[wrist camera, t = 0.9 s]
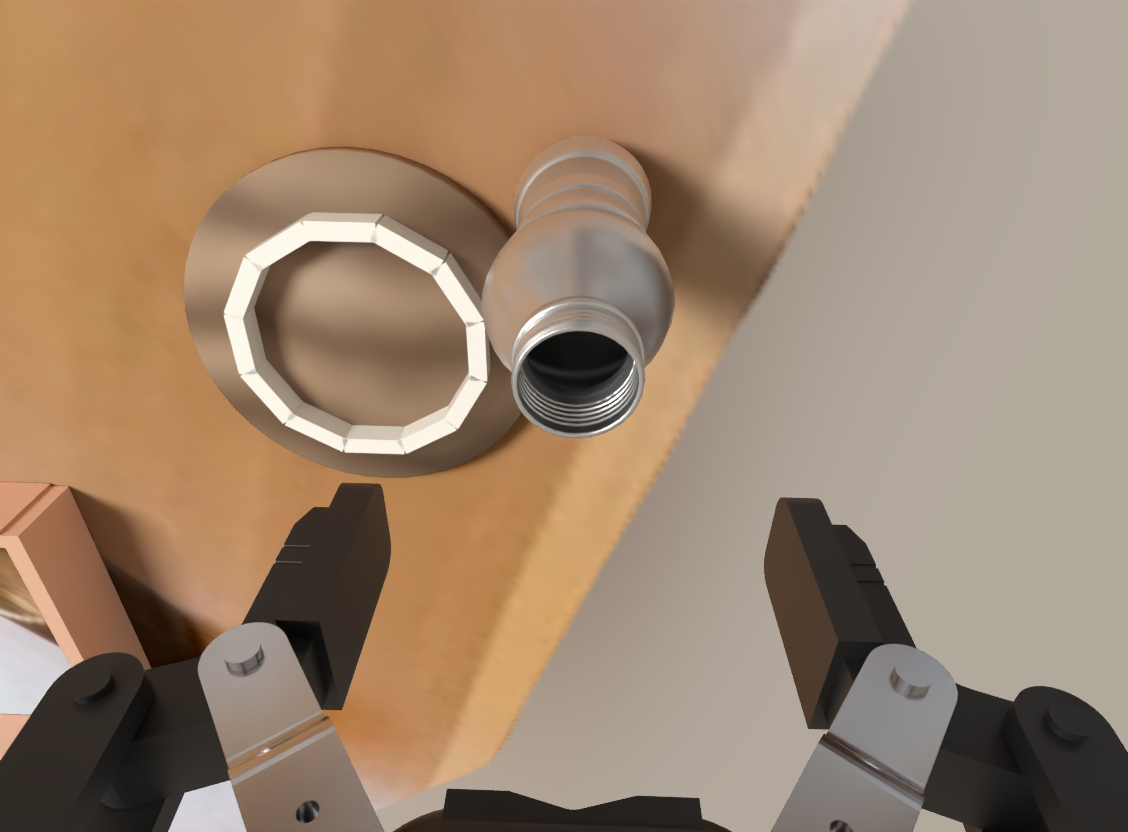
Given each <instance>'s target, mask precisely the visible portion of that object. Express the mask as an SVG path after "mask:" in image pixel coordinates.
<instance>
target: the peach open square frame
mask: <svg viewBox="0 0 1128 832" xmlns="http://www.w3.org/2000/svg"><path fill="white" fill-rule="evenodd" d="M0 548H6V550H7V552H8V553H9V555H10V557H11V559H12V561H13V563H14V564H15V566H16V568H17V570H18V572H19V573H20V575H21V577H22V579H23V581H24V583H25V584H26V586H27V588H28V590H29V592H30V593H31V595H32V597H33V599H34V601H35V603H36V604H37V606H38V608H39V610H40V612H41V613H42V615H43V617H44V619H45V621H46V623H47V624H48V626H49V628H50V630H51V632H52V633H53V635H54V637H55V639H56V641H57V643H58V644H59V646H60V648H61V650H62V652H63V653H64V655H65V657H66V659H67V661H68V663H69V664H70V666H71V668H72V667H73V666H75V665H76V664H78V663H80V662H82V661H84V660H86V659H89V658H91V657H94V656H97V655H100V654H105V653H112V652H122V653H127V654H131V655H133V656H135V657H136V658H137V659H139V661H140V662H141V664H142V665H143V667H144V670H147V669H152V668H151V666H150V664H149V662H148V659H147V657H146V655H145V653H144V651H143V648H142V646H141V644H140V642H139V640H138V638H137V635H136V633H135V631H134V629H133V627H132V624H131V622H130V620H129V618H128V616H127V613H126V611H125V609H124V607H123V605H122V602H121V600H120V598H119V596H118V594H117V591H116V589H115V587H114V585H113V583H112V581H111V578H110V576H109V574H108V572H107V570H106V567H105V565H104V563H103V561H102V559H101V556H100V554H99V552H98V550H97V548H96V545H95V543H94V541H93V539H92V537H91V534H90V532H89V530H88V528H87V526H86V524H85V521H84V519H83V517H82V515H81V513H80V510H79V508H78V506H77V504H76V502H75V499H74V497H73V495H72V493H71V491H70V488H69V486H51V485H50V484H49V483H18V482H0ZM30 716H31V715H10V714H0V760H1V759H2V757H3V756H4V754H5V753H6V751H7V750H8V748H9V747H10V745H11V744H12V742H13V741H14V740H15V738H16V737H17V735H18V734H19V732H20V731H21V729H22V728H23V726H24V725H25V723H26V722H27V720H28V719H29V717H30Z"/></svg>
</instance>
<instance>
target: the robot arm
mask: <svg viewBox="0 0 1128 832" xmlns="http://www.w3.org/2000/svg"><path fill="white" fill-rule="evenodd" d="M390 556H391V540H390V533H389V527H388V521H387V514H386V508H385V501H384V495H383V490H382V487H381V485H380V484H370V483H342V484H341V485H340V486H339V488H338V490H337V492H336V494H335V496H334V498H333V500H332V502H331V504H330V506H329V507H314V508H312V509H311V510H310V511H309V512H308V513H307V514H306V515H304V516H303V517H302V518H301V519H300V520H299V521H298V522H296V523H295V524H294V526H293V528H292V530H291V532H290V534H289V536H288V538H287V539H286V541H285V543H284V548H282V549H281V551H280V553H279V555H278V557H277V558H276V563H275V564H273V566H272V568H271V570H270V572H269V574H268V576H267V577H266V579H265V581H264V583H263V585H262V587H261V589H260V591H259V593H258V595H257V596H256V598H255V600H254V602H253V604H252V606H251V608H250V610H249V612H248V614H247V615H246V617H245V619H244V621H243V623H242V625H240V626H237V627H234V628H232V629H230V630H228V631H226V632H224V633H223V634H221V635H220V636H218V637H217V638H216V639H215V640H213V641H212V642H211V643H210V644H209V645H208V646H207V648H206V649H205V651H204V652H203V654H202V656H199V657H197V658H194V659H190V660H186V661H182V662H178V663H173V664H169V665H165V666H160V667H156V668H152V669H147V670H144V667H143V665H142V664H141V662H140V661H139V659H137V658H136V657H135V656H133V655H131V654H127V653H122V652H112V653H105V654H100V655H97V656H94V657H91V658H89V659H86V660H84V661H82V662H80V663H78V664H76V665H75V666H73V667H72V668H70V669H69V670H67V671H66V672H65V673H63V674H62V675H61V676H60V677H59V678H58V679H57V680H56V681H55V682H54V683H53V684H52V685H51V687H50V688H49V689H48V691H47V692H46V694H45V695H44V697H43V698H42V700H41V701H40V703H39V704H38V706H37V707H36V708H35V710H34V711H33V713H32V714H31V716H30V717H29V719H28V720H27V722H26V723H25V725H24V726H23V728H22V729H21V731H20V732H19V734H18V735H17V737H16V738H15V740H14V741H13V742H12V744H11V745H10V747H9V748H8V750H7V751H6V753H5V754H4V756H3V757H2V759H1V760H0V832H168V830H169V828H170V826H171V823H172V821H173V819H174V816H175V814H176V812H177V809H178V807H179V804H180V802H181V800H182V797H183V795H184V793H185V792H189V791H192V790H196V789H200V788H203V787H207V786H210V785H214V784H218V783H221V782H225V781H228V780H230V781H231V784H232V787H233V791H234V794H235V797H236V800H237V803H238V806H239V809H240V812H241V815H242V819H243V822H244V825H245V828H246V831H247V832H384V830H383V828H382V825H381V823H380V821H379V819H378V817H377V815H376V813H375V811H374V809H373V807H372V804H371V802H370V800H369V798H368V796H367V794H366V792H365V790H364V788H363V786H362V784H361V782H360V779H359V777H358V775H357V773H356V771H355V769H354V767H353V765H352V763H351V761H350V759H349V757H348V754H347V752H346V750H345V748H344V746H343V744H342V742H341V740H340V738H339V736H338V734H337V731H336V729H335V727H334V725H333V724H332V722H331V720H330V718H329V717H328V716H326V717H325V716H324V714H323V712H322V710H342V708H343V705H344V702H345V699H346V696H347V693H348V690H349V687H350V684H351V681H352V678H353V675H354V672H355V669H356V666H357V663H358V660H359V657H360V654H361V651H362V648H363V645H364V642H365V639H366V636H367V632H368V629H369V626H370V623H371V620H372V617H373V614H374V611H375V608H376V605H377V602H378V599H379V596H380V593H381V590H382V587H383V584H384V581H385V578H386V575H387V572H388V568H389V563H390ZM764 574H765V581H766V586H767V589H768V593H769V596H770V599H771V603H772V606H773V609H774V613H775V616H776V620H777V623H778V627H779V630H780V634H781V637H782V641H783V644H784V647H785V651H786V654H787V658H788V661H789V665H790V668H791V672H792V675H793V678H794V682H795V685H796V688H797V692H798V696H799V699H800V702H801V706H802V709H803V713H804V716H805V719H806V723H807V726H808V729H829V731H828V732H827V734H824V735H823V736H822V738H821V739H820V741H819V742H818V744H817V746H816V748H815V750H814V752H813V753H812V755H811V757H810V759H809V761H808V763H807V765H806V767H805V768H804V770H803V772H802V774H801V776H800V778H799V780H798V782H797V783H796V786H795V787H794V789H793V791H792V793H791V795H790V797H789V798H788V800H787V802H786V804H785V806H784V808H783V810H782V812H781V813H780V815H779V817H778V819H777V821H776V823H775V825H774V827H773V828H772V830H771V832H913V829H914V827H915V824H916V821H917V818H918V816H919V813H920V810H921V808H922V809H925V810H928V811H931V812H934V813H936V814H939V815H942V816H945V817H948V818H951V819H954V820H956V821H959V822H962V823H963V825H964V828H965V830H966V832H1128V752H1127V751H1126V749H1125V748H1124V746H1123V744H1122V743H1121V741H1120V740H1119V738H1118V736H1117V735H1116V733H1115V732H1114V730H1113V729H1112V727H1111V726H1110V724H1109V723H1108V722H1107V721H1106V719H1105V718H1104V717H1103V716H1102V715H1101V714H1100V713H1099V712H1098V711H1096V710H1095V709H1094V708H1093V707H1091V706H1090V705H1089V704H1087V703H1086V702H1084V701H1082V700H1081V699H1079V698H1078V697H1076V696H1074V695H1072V694H1070V693H1067V692H1065V691H1062V690H1059V689H1055V688H1052V687H1045V686H1034V687H1029V688H1026V689H1024V690H1023V691H1021V692H1020V693H1019V694H1018V696H1017V697H1016V699H1015V700H1014V702H1012V701H1009V700H1005V699H1002V698H998V697H995V696H992V695H989V694H985V693H982V692H978V691H975V690H972V689H969V688H966V687H963V686H961V685H959V684H957V683H955V682H954V680H953V678H952V676H951V675H950V673H949V672H948V671H947V670H946V668H945V667H944V666H943V665H942V664H940V663H939V662H938V661H937V660H936V659H934V658H933V657H931V656H930V655H928V654H926V653H925V652H923V651H921V650H918V649H917V648H916V646H915V644H914V642H913V640H912V638H911V636H910V634H909V632H908V629H907V627H906V625H905V623H904V621H903V619H902V617H901V615H900V613H899V611H898V609H897V607H896V605H895V603H894V601H893V599H892V597H891V595H890V592H889V590H888V588H887V586H884V580H883V578H882V576H881V574H880V572H879V570H878V568H877V569H876V564H875V562H874V560H873V557H872V555H871V553H870V551H869V549H868V547H867V545H866V543H865V542H864V541H862V540H861V539H860V538H859V537H858V536H857V535H856V534H855V533H854V532H853V531H852V530H851V529H850V528H849V527H848V526H847V525H832V524H831V522H830V519H829V517H828V515H827V512H826V510H825V508H824V505H823V503H822V502H821V500H819V499H814V498H780V499H779V501H778V502H777V506H776V510H775V514H774V518H773V522H772V527H771V531H770V535H769V539H768V544H767V548H766V552H765V558H764ZM393 832H731V831H730V830H728V829H726V828H724V827H722V826H719V825H717V824H715V823H713V822H710V821H707V820H704V819H702V815H701V808H700V800H699V798H682V797H656V796H635V797H630V798H626V799H621V800H617V801H613V802H609V803H604V804H600V805H596V806H591V807H587V808H583V809H578V810H569V809H565V808H562V807H558V806H555V805H552V804H548V803H546V802H542V801H539V800H536V799H533V798H529V797H526V796H523V795H520V794H517V793H513V792H510V791H494V790H467V789H447V793H446V798H445V804H444V809H442V810H438V811H434V812H431V813H428V814H425V815H423V816H420V817H418V818H416V819H414V820H412V821H410V822H408V823H406V824H404V825H402V826H401V827H399V828H398V829H396V830H395V831H393Z"/></svg>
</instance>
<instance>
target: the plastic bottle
mask: <svg viewBox="0 0 1128 832" xmlns="http://www.w3.org/2000/svg"><path fill="white" fill-rule="evenodd" d="M651 207H652V199H651V189H650V185H649V181H648V178H647V176H646V174H645V172H644V170H643V168H642V166H641V165H640V164H639V162H638V161H637V160H636V158H635V157H634V156H633V155H632V154H630V153H629V152H628V151H627V150H626V149H625V148H623V147H621V146H620V145H618V144H616V143H614V142H612V141H610V140H608V139H604V138H601V137H597V136H586V135H583V136H575V137H570V138H567V139H564V140H561V141H558V142H556V143H554V144H552V145H551V146H549V147H547V148H545V149H544V150H542V151H541V152H540V153H539V154H538V155H537V156H536V157H534V158H533V159H532V161H531V162H530V163H529V165H528V166H527V167H526V168H525V170H524V172H523V174H522V176H521V178H520V180H519V182H518V185H517V189H516V193H515V200H514V214H515V222H516V229H517V231H516V232H515V234H514V235H513V236H512V237H511V238H510V239H509V240H508V241H507V243H506V244H505V245H504V246H503V248H502V249H501V250H500V251H499V253H498V255H497V257H496V259H495V260H494V262H493V264H492V266H491V268H490V270H489V272H488V274H487V277H486V281H485V284H484V288H483V292H482V315H483V321H484V326H485V329H486V331H487V334H488V337H489V339H490V342H491V344H492V347H493V349H494V351H495V353H496V354H497V356H498V357H499V359H500V360H501V362H502V363H503V364H504V365H505V366H506V367H507V368H508V369H509V370H510V371H511V372H512V376H511V385H512V391H513V396H514V399H515V401H516V403H517V406H518V408H519V409H520V411H521V412H522V413H523V415H524V416H525V417H526V418H527V419H528V420H529V421H530V422H531V423H532V424H534V425H535V426H537V427H538V428H540V429H541V430H543V431H546V432H548V433H551V434H553V435H557V436H561V437H568V438H585V437H592V436H596V435H600V434H603V433H605V432H607V431H610V430H612V429H614V428H615V427H617V426H618V425H620V424H621V423H623V422H624V421H625V420H626V419H627V418H628V417H629V416H630V415H631V414H632V413H633V411H634V410H635V408H636V407H637V406H638V403H639V401H640V399H641V396H642V393H643V388H644V382H645V373H644V368H645V367H646V366H647V365H648V364H649V363H650V362H651V361H652V359H653V358H654V357H655V355H656V354H657V352H658V351H659V349H660V348H661V346H662V343H663V341H664V339H665V337H666V335H667V332H668V330H669V328H670V325H671V322H672V317H673V312H674V308H675V299H674V286H673V282H672V278H671V274H670V271H669V269H668V267H667V264H666V262H665V260H664V258H663V256H662V254H661V252H660V250H659V248H658V247H657V246H656V245H655V243H654V242H653V241H652V240H651V238H650V237H649V236H648V235H647V233H646V230H647V228H648V224H649V219H650V213H651Z"/></svg>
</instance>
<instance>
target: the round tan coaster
mask: <svg viewBox="0 0 1128 832" xmlns="http://www.w3.org/2000/svg"><path fill="white" fill-rule="evenodd" d="M312 212H323V213H361V214H382V215H383V217H384V216H385V215H386V216H388V217H390V218H392V219H393V220H395V221H397V222H399V223H400V224H402V225H404V226H406V227H408V228H409V229H411V230H413V231H415V232H416V233H418V234H420V235H422V236H423V237H425V238H427V239H429V240H430V241H432V242H434V243H436V244H438V245H439V246H441V247H443V248H445V249H446V250H448V253H447V254H449V253H451V254H452V256H453V257H454V259H455V260H456V262H457V263H458V265H459V266H460V268H461V269H462V271H463V272H464V274H465V276H466V277H467V279H468V280H469V282H470V283H471V285H472V286H473V288H474V289H475V291H476V292H477V294H478V295H479V297H480V298H481V300H482V292H483V288H484V284H485V281H486V277H487V274H488V272H489V270H490V268H491V266H492V264H493V262H494V260H495V259H496V257H497V255H498V253H499V251H500V250H501V249H502V248H503V246H504V245H505V244H506V243H507V241H508V240H509V239H510V238H511V236H510V234H509V233H508V232H507V230H506V229H505V227H504V226H503V225H502V224H501V223H500V222H499V221H498V219H497V218H496V217H495V216H494V215H493V214H492V213H491V212H490V210H489V209H488V208H487V207H485V206H484V205H483V204H482V203H481V202H480V201H479V200H477V199H476V198H475V197H474V196H473V195H472V194H471V193H469V192H468V191H467V190H465V189H464V188H462V187H461V186H459V185H458V184H457V183H455V182H454V181H452V180H451V179H449V178H448V177H446V176H444V175H442V174H440V173H438V172H437V171H435V170H433V169H431V168H429V167H427V166H425V165H423V164H420V163H418V162H415V161H412V160H410V159H407V158H404V157H401V156H399V155H395V154H391V153H386V152H382V151H377V150H373V149H365V148H354V147H328V148H317V149H311V150H306V151H301V152H296V153H293V154H290V155H287V156H284V157H282V158H279V159H276V160H273V161H271V162H270V163H268V164H266V165H264V166H262V167H260V168H259V169H257V170H255V171H253V172H251V173H250V174H248V175H246V176H245V177H243V178H242V179H240V180H239V181H238V182H237V183H235V184H234V185H233V186H231V187H230V188H229V189H228V190H226V191H225V192H224V193H223V194H222V195H221V197H220V198H219V199H218V200H217V201H216V202H215V203H214V204H213V205H212V207H211V208H210V209H209V211H208V212H207V214H206V215H205V217H204V219H203V220H202V222H201V223H200V225H199V226H198V229H197V231H196V234H195V236H194V238H193V241H192V243H191V246H190V249H189V254H188V258H187V262H186V267H185V279H184V298H185V310H186V315H187V319H188V324H189V328H190V333H191V335H192V338H193V341H194V344H195V346H196V349H197V352H198V354H199V356H200V358H201V360H202V362H203V364H204V366H205V368H206V370H207V372H208V373H209V375H210V376H211V378H212V379H213V381H214V382H215V384H216V385H217V387H218V388H219V390H220V391H221V392H222V394H223V395H224V396H225V397H226V398H227V399H228V401H229V402H230V403H231V404H232V405H233V407H234V408H235V409H236V410H237V411H238V412H239V413H240V414H241V415H242V416H243V417H244V418H245V419H247V420H248V421H249V422H250V423H251V424H252V425H253V426H254V427H256V428H257V429H258V430H260V431H261V432H262V433H263V434H265V435H266V436H267V437H269V438H270V439H272V440H273V441H275V442H276V443H278V444H279V445H281V446H283V447H284V448H286V449H288V450H289V451H291V452H293V453H295V454H297V455H299V456H301V457H303V458H305V459H307V460H310V461H312V462H315V463H317V464H320V465H322V466H325V467H328V468H332V469H335V470H339V471H342V472H346V473H351V474H356V475H362V476H368V477H380V478H407V477H415V476H423V475H428V474H432V473H436V472H440V471H444V470H447V469H450V468H452V467H455V466H458V465H460V464H463V463H465V462H467V461H469V460H470V459H472V458H474V457H476V456H478V455H480V454H481V453H483V452H484V451H485V450H487V449H488V448H490V447H491V446H492V445H494V444H495V443H496V442H497V441H498V440H499V439H500V438H501V437H502V436H504V435H505V434H506V433H507V432H508V431H509V429H510V428H511V427H512V426H513V424H514V423H515V422H516V421H517V419H518V418H519V417H520V415H521V413H522V412H521V411H520V409H519V408H518V406H517V403H516V401H515V399H514V396H513V391H512V385H511V376H512V372H511V371H510V370H509V369H508V368H507V367H506V366H505V365H504V364H503V363H502V362H501V360H500V359H499V357H498V356H497V354H496V353H495V351H494V349H493V347H492V344H491V342H490V339H489V348H490V372H489V376H488V380H487V384H486V385H485V387H484V389H483V390H482V392H481V393H480V395H479V397H478V398H477V400H476V401H475V403H474V405H473V406H472V408H471V409H470V411H469V413H468V414H467V416H466V417H465V419H464V420H463V422H462V424H461V425H460V427H459V428H458V429H457V430H456V431H454V432H452V433H450V434H448V435H446V436H444V437H441V438H439V439H437V440H435V441H433V442H431V443H429V444H427V445H424V446H422V447H420V448H418V449H416V450H414V451H412V452H410V453H407V454H406V452H405V454H379V453H346V452H345V451H344V450H343V452H342V451H339V450H337V449H335V448H333V447H331V446H329V445H326V444H324V443H322V442H320V441H318V440H316V439H314V438H311V437H309V436H307V435H305V434H303V433H301V432H298V431H296V430H294V429H292V428H290V427H288V426H286V425H285V424H286V422H285V423H282V422H281V421H280V420H279V419H278V418H277V417H276V416H275V414H274V413H273V412H272V411H271V410H270V409H269V408H268V407H267V406H266V404H265V403H264V402H263V401H262V400H261V399H260V398H259V397H258V396H257V394H256V393H255V392H254V391H253V390H252V389H251V388H250V387H249V386H248V384H247V383H246V382H245V381H244V380H243V379H242V378H241V377H240V376H241V375H242V374H239V372H238V369H237V365H236V361H235V357H234V353H233V350H232V346H231V342H230V338H229V334H228V331H227V327H226V323H225V319H224V314H225V313H224V310H225V307H226V304H227V302H228V299H229V296H230V293H231V291H232V288H233V285H234V282H235V280H236V277H237V274H238V271H239V269H240V266H241V263H242V260H243V258H244V256H246V254H247V253H249V252H250V251H251V250H252V249H253V248H255V247H256V246H257V245H259V244H260V243H262V242H264V241H265V240H267V239H268V238H270V237H272V236H273V235H275V234H277V233H278V232H280V231H281V230H283V229H285V228H286V227H288V226H289V225H291V224H293V223H294V222H296V221H298V220H299V219H301V218H302V217H304V216H306V215H307V214H309V213H310V214H311V213H312ZM254 309H255V314H256V318H257V322H258V326H259V331H260V335H261V339H262V343H263V348H264V352H265V356H266V359H267V361H268V362H269V363H270V364H271V365H272V366H273V368H274V369H275V370H276V371H277V372H278V373H279V374H280V376H281V377H282V378H283V379H284V380H285V381H286V383H287V384H288V385H289V386H290V387H291V388H292V390H293V391H294V392H295V393H296V394H297V395H298V396H299V398H300V399H301V400H302V401H303V402H305V403H307V404H310V405H312V406H314V407H316V408H318V409H320V410H322V411H324V412H326V413H328V414H331V415H333V416H335V417H337V418H339V419H341V420H343V421H345V422H347V423H349V424H351V425H368V426H401V427H405V426H407V425H409V424H411V423H413V422H416V421H418V420H420V419H422V418H424V417H426V416H428V415H430V414H432V413H434V412H436V411H438V410H440V409H442V408H444V407H447V406H449V404H450V402H451V401H452V399H453V397H454V396H455V394H456V392H457V391H458V389H459V387H460V386H461V384H462V382H463V381H464V379H465V377H466V376H467V374H468V373H469V366H468V350H467V334H466V324H465V323H464V322H463V320H462V319H461V317H460V316H459V314H458V313H457V311H456V310H455V308H454V307H453V305H452V304H451V302H450V301H449V299H448V298H447V297H446V295H445V294H444V292H443V291H442V289H441V288H440V286H439V285H438V283H437V282H436V280H435V279H434V277H433V276H432V275H431V274H430V273H428V272H426V271H424V270H422V269H421V268H419V267H417V266H415V265H413V264H411V263H410V262H408V261H406V260H404V259H402V258H401V257H399V256H397V255H395V254H393V253H392V252H390V251H388V250H386V249H384V248H383V247H381V246H379V245H377V244H375V243H372V242H335V241H309V242H307V243H305V244H304V245H302V246H300V247H299V248H297V249H295V250H294V251H292V252H290V253H289V254H287V255H286V256H284V257H282V258H281V259H279V260H277V261H276V262H274V263H272V264H271V265H270V268H269V271H268V273H267V276H266V278H265V281H264V283H263V286H262V289H261V291H260V294H259V296H258V299H257V301H256V304H255V307H254Z"/></svg>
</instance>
